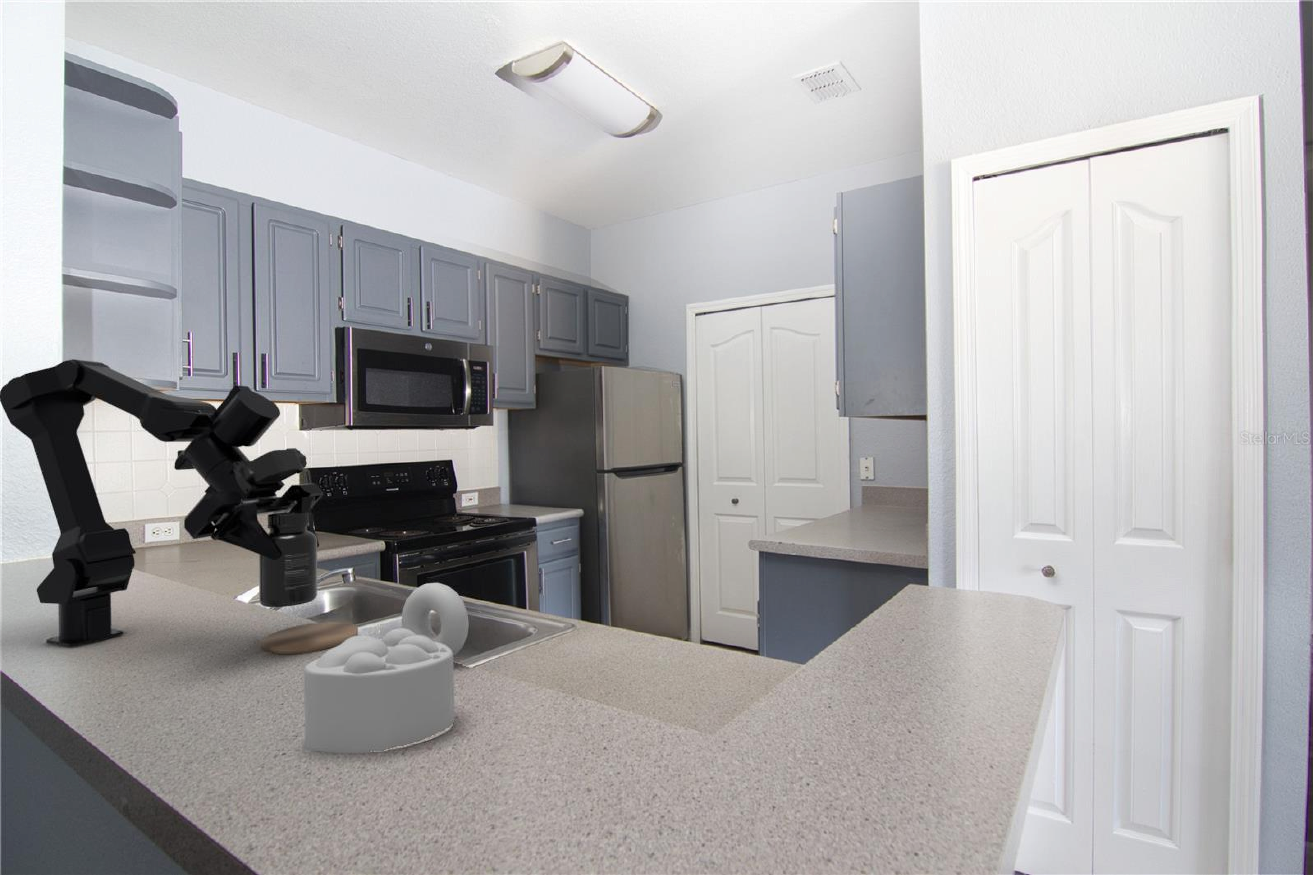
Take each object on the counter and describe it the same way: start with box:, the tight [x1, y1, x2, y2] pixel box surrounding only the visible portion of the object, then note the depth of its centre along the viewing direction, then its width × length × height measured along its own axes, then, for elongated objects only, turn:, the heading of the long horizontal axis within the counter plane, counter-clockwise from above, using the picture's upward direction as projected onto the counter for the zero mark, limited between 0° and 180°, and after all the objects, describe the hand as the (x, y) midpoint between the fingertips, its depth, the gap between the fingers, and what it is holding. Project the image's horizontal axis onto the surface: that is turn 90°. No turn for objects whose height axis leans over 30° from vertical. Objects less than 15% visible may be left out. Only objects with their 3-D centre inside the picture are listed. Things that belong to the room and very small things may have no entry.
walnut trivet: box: [261, 621, 359, 655], centre depth 91 cm, size 12×12×1 cm
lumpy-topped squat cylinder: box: [303, 627, 455, 754], centre depth 63 cm, size 10×13×9 cm
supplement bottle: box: [258, 512, 318, 608], centre depth 86 cm, size 7×7×12 cm
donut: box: [401, 582, 470, 657], centre depth 81 cm, size 10×3×10 cm, turn 65°
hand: (298, 552), depth 86 cm, fingers closed on supplement bottle, 7 cm apart
